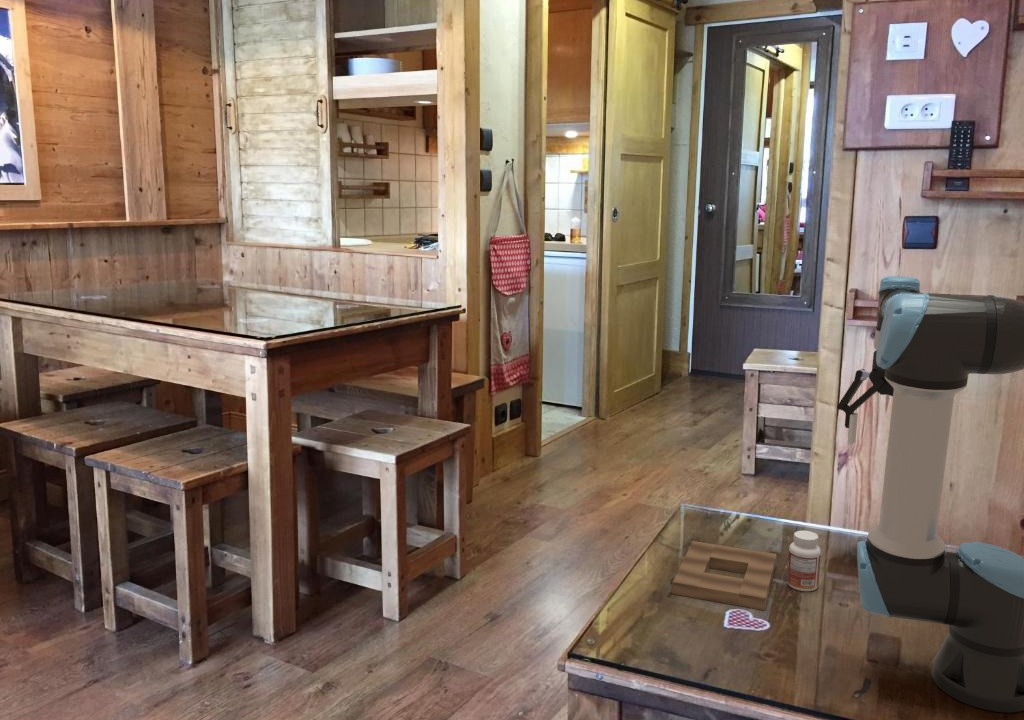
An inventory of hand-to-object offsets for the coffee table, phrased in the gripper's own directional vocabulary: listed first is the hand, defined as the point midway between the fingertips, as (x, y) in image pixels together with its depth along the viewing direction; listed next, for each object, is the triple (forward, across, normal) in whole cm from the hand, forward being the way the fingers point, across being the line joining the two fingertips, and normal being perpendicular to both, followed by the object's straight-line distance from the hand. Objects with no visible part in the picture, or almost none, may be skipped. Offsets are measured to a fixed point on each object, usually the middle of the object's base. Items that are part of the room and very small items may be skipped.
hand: (883, 449), depth 186 cm
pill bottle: (+26, +7, +21) cm, 34 cm away
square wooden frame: (+26, +20, +29) cm, 44 cm away
